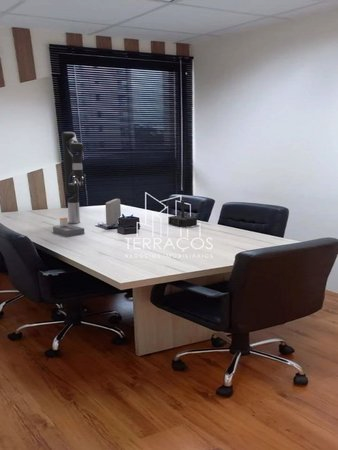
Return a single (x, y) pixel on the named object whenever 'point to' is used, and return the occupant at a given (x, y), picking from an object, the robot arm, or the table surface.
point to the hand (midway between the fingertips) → (78, 190)
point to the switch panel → (68, 230)
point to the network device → (113, 211)
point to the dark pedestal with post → (182, 218)
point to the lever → (63, 221)
